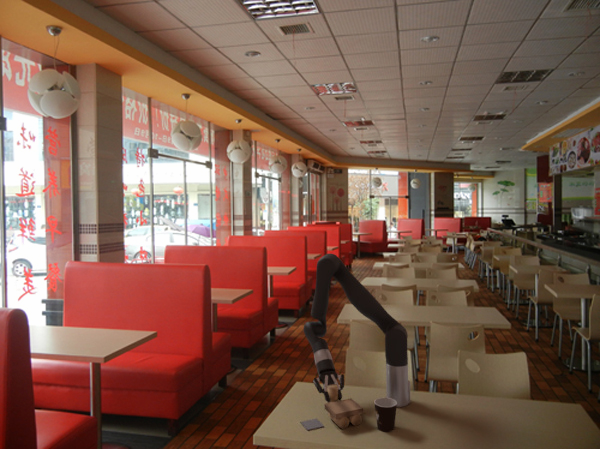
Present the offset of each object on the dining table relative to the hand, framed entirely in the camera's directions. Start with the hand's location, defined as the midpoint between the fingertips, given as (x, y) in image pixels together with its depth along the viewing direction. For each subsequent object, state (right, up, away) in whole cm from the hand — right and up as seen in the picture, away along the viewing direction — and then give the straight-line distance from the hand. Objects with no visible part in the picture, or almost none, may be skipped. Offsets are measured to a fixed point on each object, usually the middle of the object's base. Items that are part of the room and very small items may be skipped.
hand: (334, 400), depth 192 cm
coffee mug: (+19, -6, -12) cm, 23 cm away
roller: (0, -5, +2) cm, 5 cm away
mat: (-9, -6, -9) cm, 15 cm away
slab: (+3, -6, -7) cm, 10 cm away
